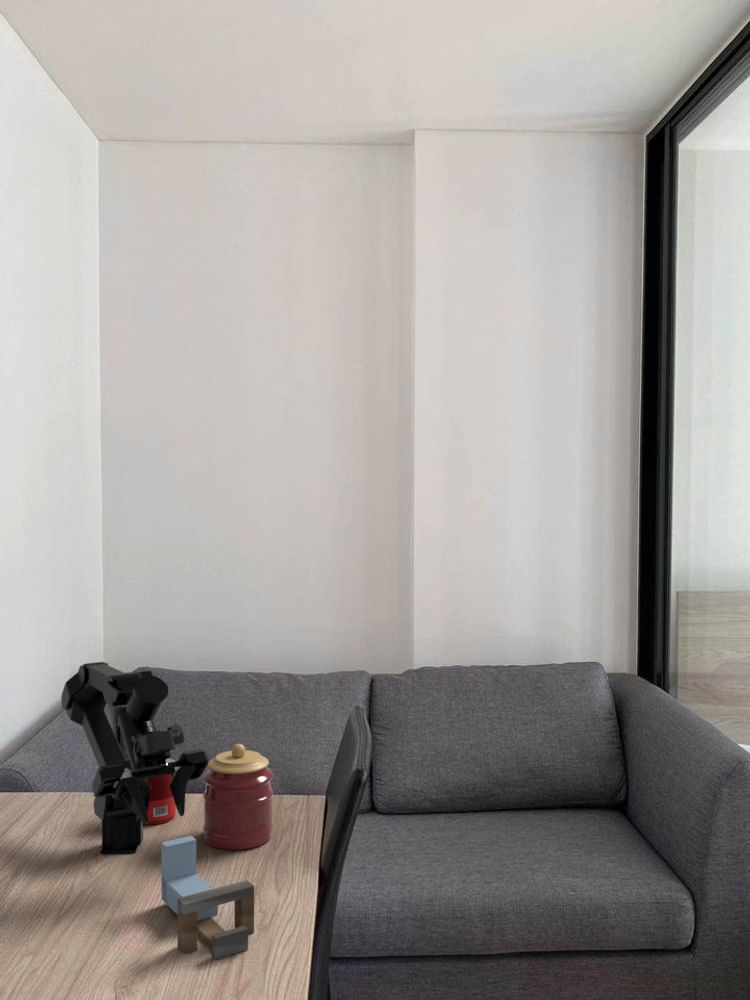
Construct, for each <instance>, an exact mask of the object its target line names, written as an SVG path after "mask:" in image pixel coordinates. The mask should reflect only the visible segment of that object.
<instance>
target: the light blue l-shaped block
mask: <svg viewBox="0 0 750 1000" xmlns="http://www.w3.org/2000/svg"><path fill="white" fill-rule="evenodd" d="M211 889H214V888H213V887H212V886H211V885H210V884H208V882H206V881H205V880H204V879H202V877H201V876H199V875H198V874H197V839H196V838H195V837H194V836H193V835H188V836H184V837H179V838H175V839H172V840H166V841H162V842H161V900H162V901H163V902H164V903H165V904H166V905H167V906H168V908H170V909H171V910H172V911H173V912H174V914H176V915H177V916H178V898H181V897H185V896H189V895H192V894H196V893H200V892H204V891H207V890H211ZM218 906H219V905H217V906H214V907H210V908H206V909H203V910H199V911H197V921H200V920H204V919H207V918H213V917H217V916H218V915H219V912H218V910H219V907H218Z"/></svg>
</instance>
